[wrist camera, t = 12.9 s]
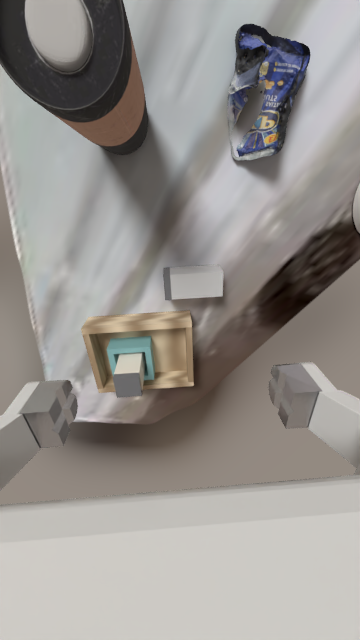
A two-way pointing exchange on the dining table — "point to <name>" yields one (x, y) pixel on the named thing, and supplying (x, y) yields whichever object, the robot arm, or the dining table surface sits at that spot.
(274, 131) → the snack package
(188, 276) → the grey plug
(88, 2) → the travel mug
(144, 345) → the teal socket
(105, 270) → the dining table surface
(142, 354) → the ivory connector
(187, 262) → the dining table surface
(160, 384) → the birch crate
